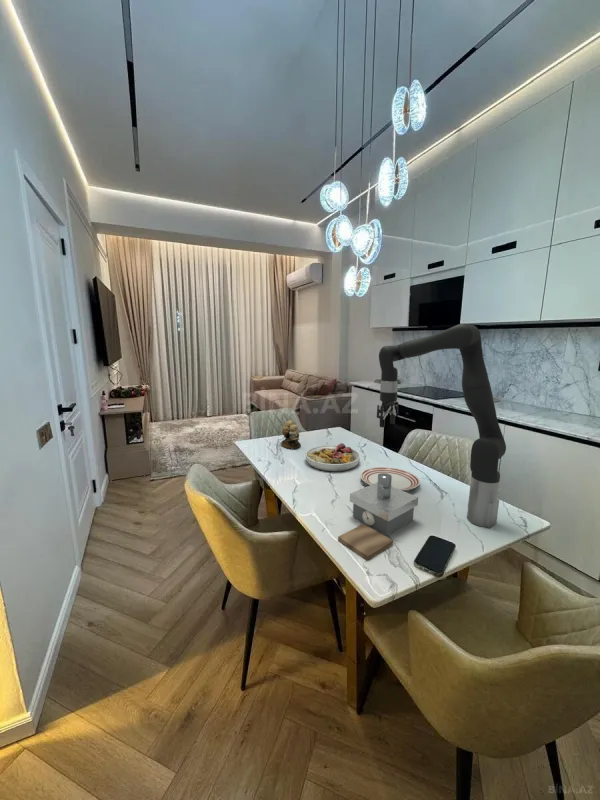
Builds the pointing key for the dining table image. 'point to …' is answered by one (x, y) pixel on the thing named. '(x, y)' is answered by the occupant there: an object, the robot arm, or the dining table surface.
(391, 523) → the scale
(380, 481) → the cylinder
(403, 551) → the dining table surface
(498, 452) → the robot arm
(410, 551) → the dining table surface
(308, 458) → the bowl
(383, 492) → the cylinder
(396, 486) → the dinner plate
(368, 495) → the pan
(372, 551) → the walnut board
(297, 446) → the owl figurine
